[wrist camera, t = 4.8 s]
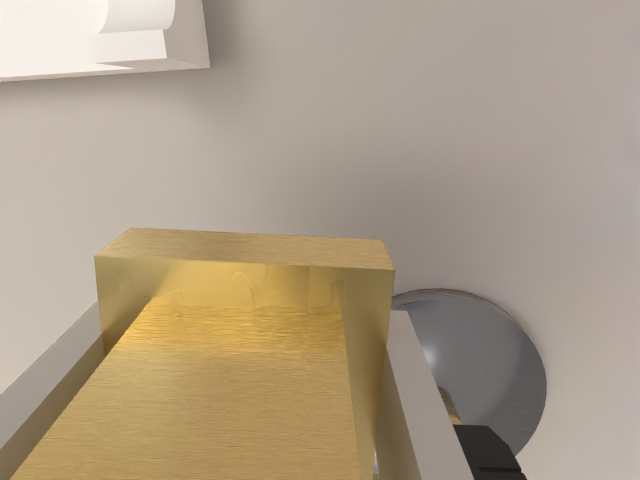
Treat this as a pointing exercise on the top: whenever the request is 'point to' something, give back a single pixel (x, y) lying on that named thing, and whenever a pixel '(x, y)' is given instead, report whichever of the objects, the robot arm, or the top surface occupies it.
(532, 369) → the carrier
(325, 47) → the top surface
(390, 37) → the top surface
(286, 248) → the brass square sleeve
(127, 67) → the bracket
